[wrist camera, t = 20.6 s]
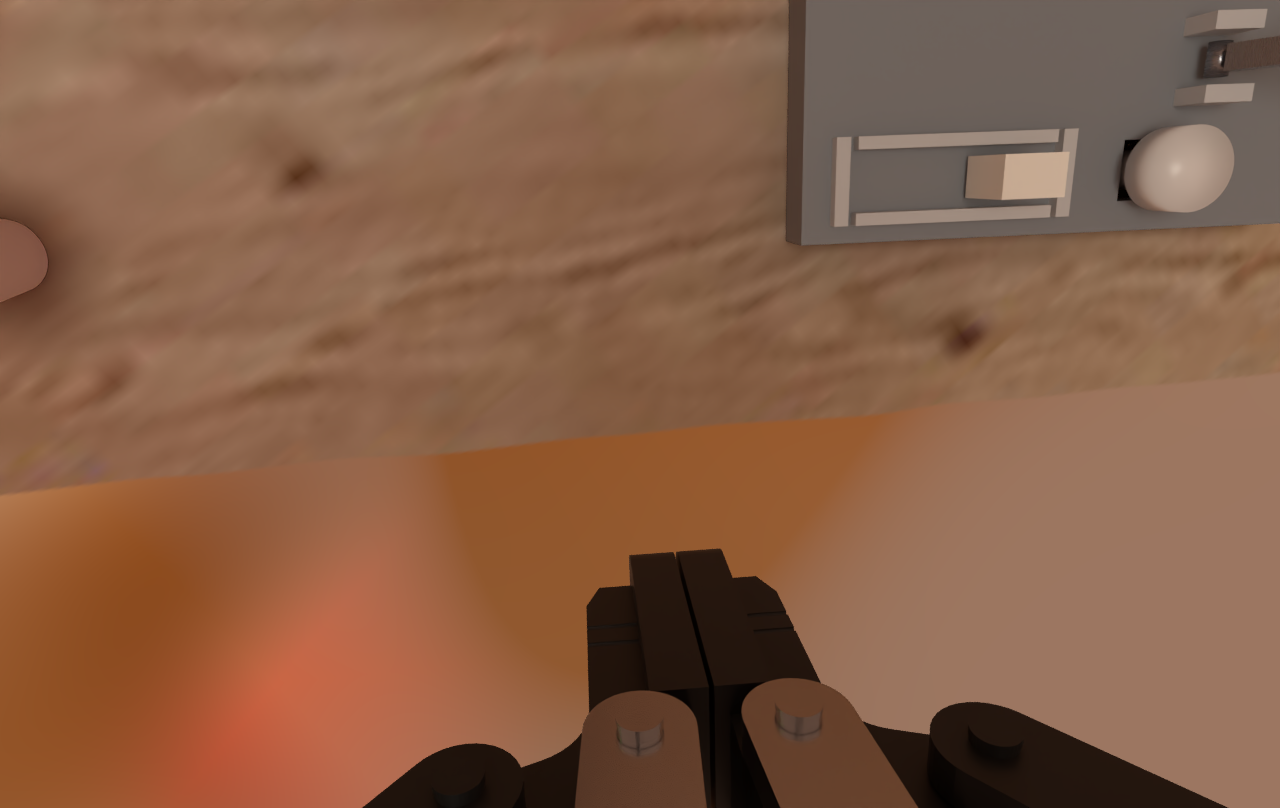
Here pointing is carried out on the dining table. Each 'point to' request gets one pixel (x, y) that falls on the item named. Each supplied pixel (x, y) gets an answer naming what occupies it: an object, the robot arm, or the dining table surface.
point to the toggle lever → (1241, 56)
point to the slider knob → (1017, 176)
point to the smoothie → (20, 259)
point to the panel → (1013, 112)
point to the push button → (1178, 168)
